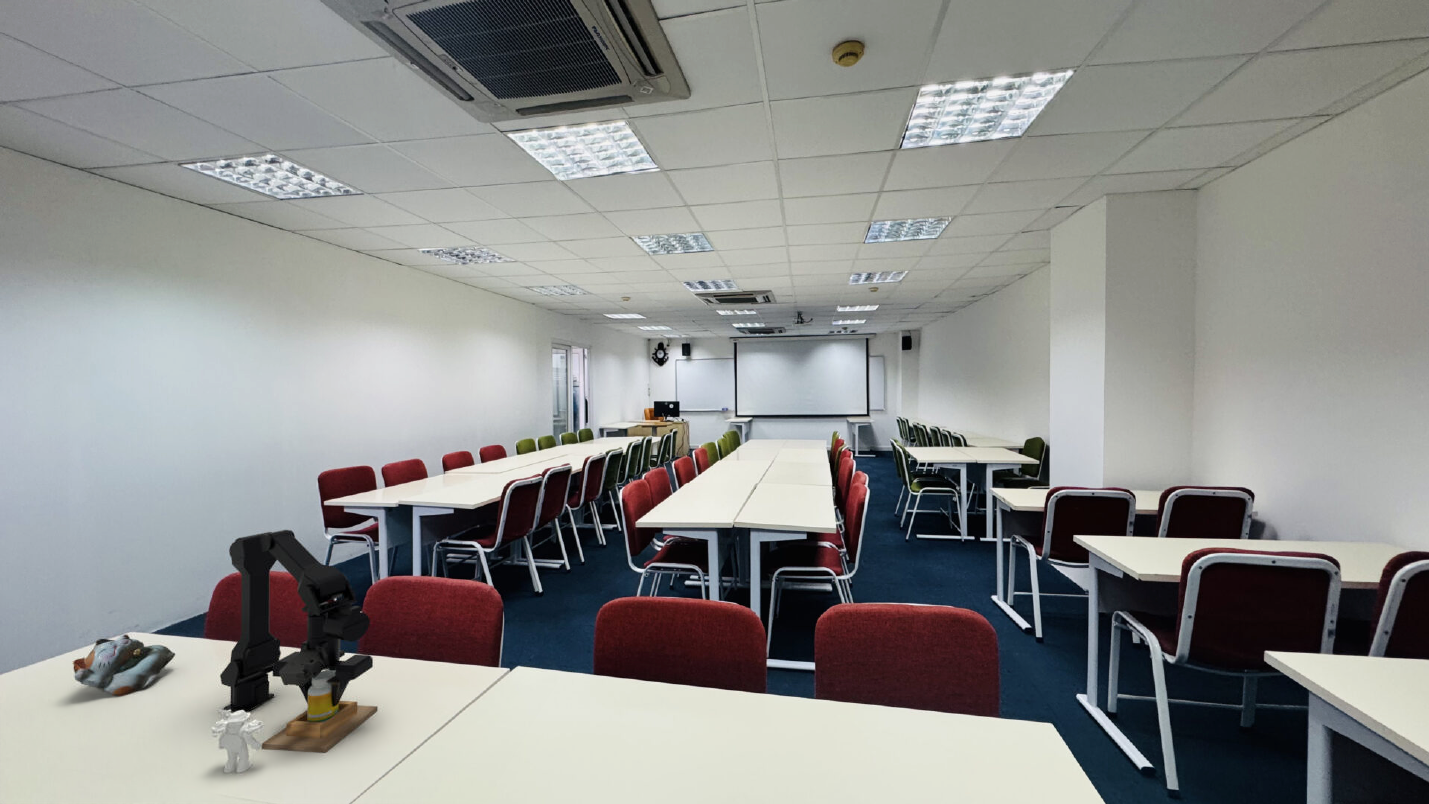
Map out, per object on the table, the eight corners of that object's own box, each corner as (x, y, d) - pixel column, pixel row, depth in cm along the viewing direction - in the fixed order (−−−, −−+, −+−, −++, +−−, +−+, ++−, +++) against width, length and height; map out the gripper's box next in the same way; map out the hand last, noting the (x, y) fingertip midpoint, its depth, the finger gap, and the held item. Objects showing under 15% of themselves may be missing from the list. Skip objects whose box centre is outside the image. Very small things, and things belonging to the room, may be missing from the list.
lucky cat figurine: (137, 696, 120) (93, 655, 115) (87, 717, 119) (41, 677, 115) (188, 650, 134) (151, 611, 130) (144, 668, 133) (105, 630, 129)
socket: (261, 748, 102) (261, 731, 102) (320, 707, 116) (320, 692, 116) (325, 752, 101) (325, 735, 101) (377, 710, 115) (377, 695, 115)
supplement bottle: (307, 717, 109) (307, 673, 109) (337, 708, 112) (338, 665, 113) (307, 729, 105) (307, 684, 105) (339, 720, 108) (339, 675, 108)
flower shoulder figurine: (204, 775, 95) (205, 711, 95) (225, 761, 99) (226, 699, 99) (251, 776, 94) (252, 712, 95) (270, 761, 98) (271, 700, 99)
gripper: (247, 648, 101) (245, 725, 101) (332, 653, 100) (331, 731, 100) (297, 624, 113) (296, 694, 112) (375, 628, 111) (374, 698, 111)
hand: (323, 704), depth 109 cm, fingers closed on supplement bottle, 5 cm apart
